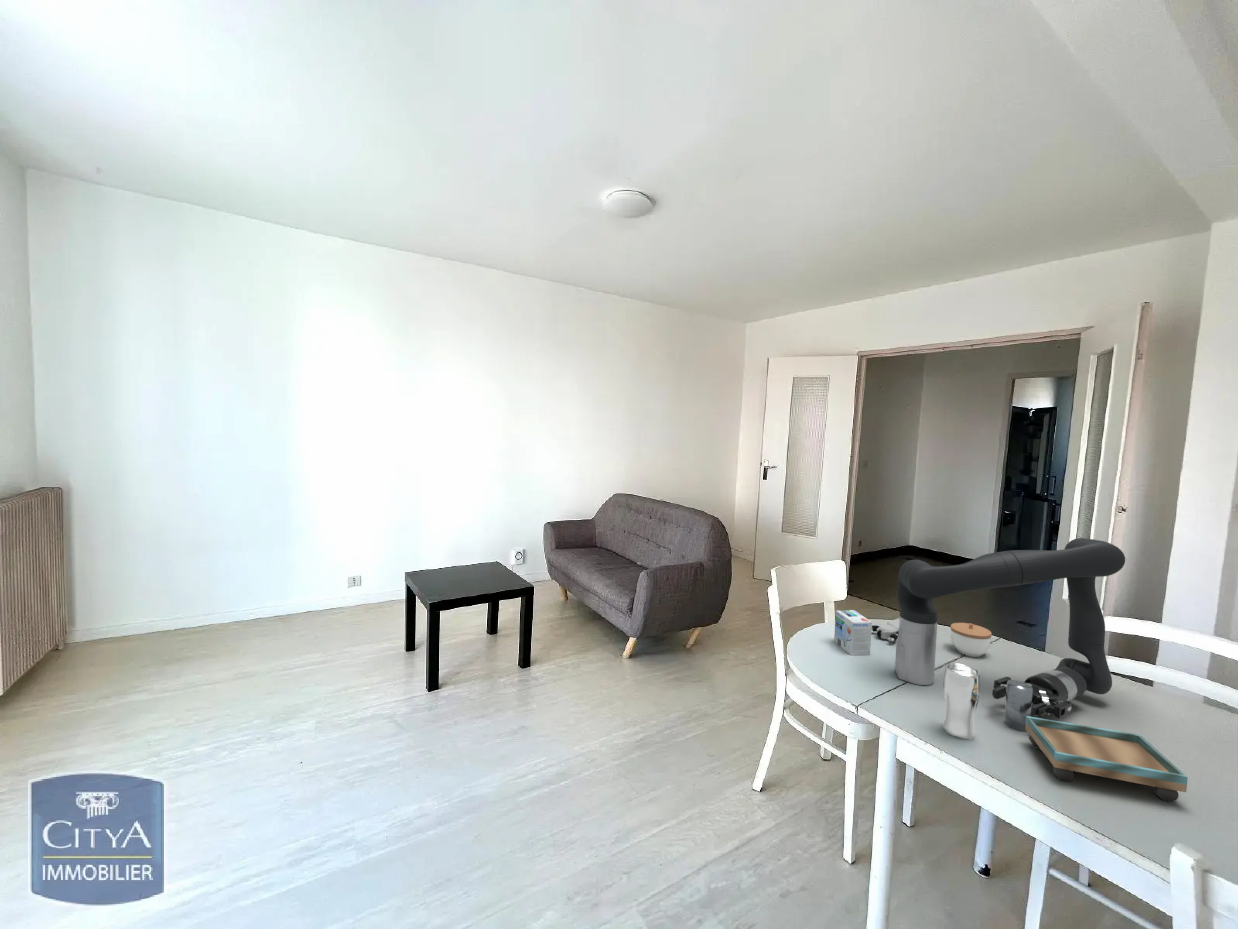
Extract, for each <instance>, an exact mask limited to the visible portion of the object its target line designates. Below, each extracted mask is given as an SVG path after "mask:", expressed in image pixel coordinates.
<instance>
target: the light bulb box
mask: <svg viewBox="0 0 1238 929" xmlns="http://www.w3.org/2000/svg"><path fill="white" fill-rule="evenodd" d="M834 615H835V619H834V634H833V636H834V637H833V638H834V640H833V642H834V643H836V645H838V646H839V647H840V648H842V649H843V651H845V652H846V653H847V654H848V655H849V654H850V656H870V655H871V646H872V630H871V629H872V625H873V622H872V621H871V620H870V619H868V618H867V617H865V616H863V615H862V614H861V613H859V612H858V611H856V610H855V609H847V610H846V609H845V610H842V609H840V610H835V614H834Z"/></svg>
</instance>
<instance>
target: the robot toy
mask: <svg viewBox="0 0 1238 929" xmlns="http://www.w3.org/2000/svg"><path fill="white" fill-rule="evenodd" d="M899 618H900V617H897V618H895V619H891V620H888V621H887V623H886V624H883V625H873V624H872V629H871V632H875V633H876V636H877V637H878V638H881V639H884V640H886V641H890V642H894V643H895V642H896V640H897V639H898V636H899Z"/></svg>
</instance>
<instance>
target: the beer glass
mask: <svg viewBox="0 0 1238 929" xmlns="http://www.w3.org/2000/svg"><path fill="white" fill-rule="evenodd" d="M980 694H981V673H980V671H979V670H978V669H976V668H974V667H972V666H969V665H966V664H964V663H956V662H955V663H954V662H952V663H951V662H949V663H946V664H945V672H944V677H943V696H944V703H945V719H944V722H943V725H942V727H943V730H944V731H945V732H946V733H947V734H948V735H951V736H952V737H954V738H957V739H960V740H966V741H967V740H973V739H974V738H975V734H976V733H975V728H974V727H975V726H974V721H975V720H974V719H975V714H976V711H977V707H978V704H979V700H980Z"/></svg>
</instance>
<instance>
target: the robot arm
mask: <svg viewBox="0 0 1238 929" xmlns="http://www.w3.org/2000/svg"><path fill="white" fill-rule="evenodd" d="M1125 563H1126V557H1125V553H1124V552H1123V551H1122V549H1120V548H1119V547H1118V546H1117V545H1115V544H1113V543H1110V542H1108V541H1104V540H1100V539H1092V538H1086V537H1085V538H1084V537H1080V538H1079V537H1077V538H1074V539H1072V540H1070V541H1068V542H1067V544H1065V546H1064V549H1057V550H1055V549H1054V550H1045V549H1043V550H1041V549H1017V550H1016V549H1014V550H1004V551H998V552H997V551H996V552H990V553H986V554H982V555H980V556H978V557H976V558H975V557H974V558H973V559H971V560H969V561H967V562H964V563H961V564H955V565H947V566H946V565H944V566H942V565H941V566H933V565H931V564H929V563H927V562H926V561H923V560H920V559H910V560H907V561H906V562H904V563H903V564H902V565H901V566H900V568H899V572H898V577H897V578H898V579H897V604H898V607H899V617H898V618H899V636H898V638H897V640H896V641H895V642H896V644H895V646H896V647H895V660H894V664H895V665H894V671H895V673H896V676H897V678H898V679H899V680H902V681H905V682H907V683H911V684H915V685H919V686H929V685H932V684H934V682H935V675H936V674H935V673H936V672H935V669H936V654H937V653H936V652H937V636H938V617H939V615H938V614H939V612H938V610H937V608H936V604H935V602H934V599H937V598H941V597H946V596H949V595H954V594H958V593H964V592H969V591H970V592H971V591H980V590H989V589H997V588H1007V587H1009V588H1011V587H1017V586H1024V585H1028V584H1036V583H1043V582H1048V581H1055V580H1060V579H1066V583H1067V593H1068V602H1069V603H1068V604H1069V619H1068V620H1069V622H1068V638H1067V640H1068V642H1067V644H1068V647H1069V648H1070V649H1071V650H1073V651H1074V652H1076V653H1079V655H1080V654H1081V655H1082V656H1084V657H1085V658H1086V659H1087V661H1088V662H1087V661H1083V660H1080V659H1077V658H1071V657H1067V658H1062V659H1060V661H1059V663H1058V665H1057V666H1056V668H1054V669H1052V670H1047V671H1043V672H1039V673H1037V674H1035V675H1031V676H1029V677H1027V678H1026V679H1025V681H1023V682H1024V683H1027V684H1029V685H1030V686H1032V687H1033V693H1032V705H1033V704H1034V705H1033V706H1032V707H1031V716H1032V717H1036V718H1038V717H1043V716H1045V715H1047V716H1050V714H1051V715H1053V717H1054V718H1056V719H1062V718H1064V717H1066V716H1068V715H1070V714H1071V713H1072V704H1073V703H1072V702H1071V701H1072V700H1073V699H1075V698H1078V697H1080V696H1081V695H1083V694H1084V693H1085V692H1090V693H1093V694H1095V695H1105V694H1107V693H1109V691H1110V690H1111V688H1112V686H1113V678H1112V674H1111V670H1110V667H1109V665H1108V660H1107V657H1106V652H1105V640H1106V639H1105V637H1106V624H1105V623H1106V622H1105V617H1104V615H1103V611H1102V609H1101V606H1100V602H1099V600H1098V596H1097V592H1096V577H1099V578H1100V577H1101V578H1102V577H1109V576H1113V575H1115V574H1117V573H1118V572H1120V571H1121V570H1122V569H1123V567H1124V566H1125ZM1008 680H1012V677H1009V676H1005V677H1001V678H998V679H994V680H993V688H992V693H991V694H992V697H993V699H996V700H1000V699H1001V698H1006V691H1007V681H1008Z"/></svg>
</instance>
